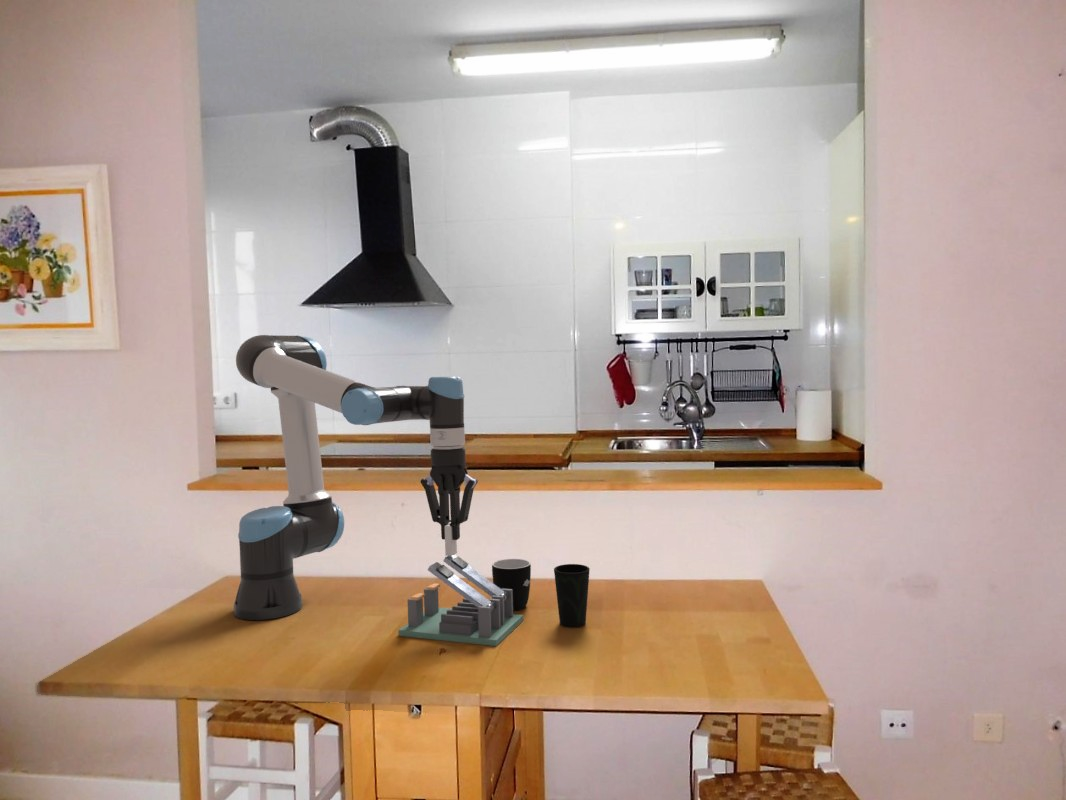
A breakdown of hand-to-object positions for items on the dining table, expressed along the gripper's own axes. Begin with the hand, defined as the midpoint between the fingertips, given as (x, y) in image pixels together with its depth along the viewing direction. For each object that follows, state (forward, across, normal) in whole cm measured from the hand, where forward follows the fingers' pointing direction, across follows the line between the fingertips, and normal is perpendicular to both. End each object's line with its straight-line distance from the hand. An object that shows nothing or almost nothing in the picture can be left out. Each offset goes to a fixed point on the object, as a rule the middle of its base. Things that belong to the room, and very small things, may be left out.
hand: (451, 554), depth 167 cm
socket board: (+15, +4, -3) cm, 16 cm away
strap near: (+6, +5, -8) cm, 11 cm away
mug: (+15, +9, +15) cm, 23 cm away
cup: (+15, +26, +6) cm, 30 cm away
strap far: (+6, +5, 0) cm, 8 cm away
